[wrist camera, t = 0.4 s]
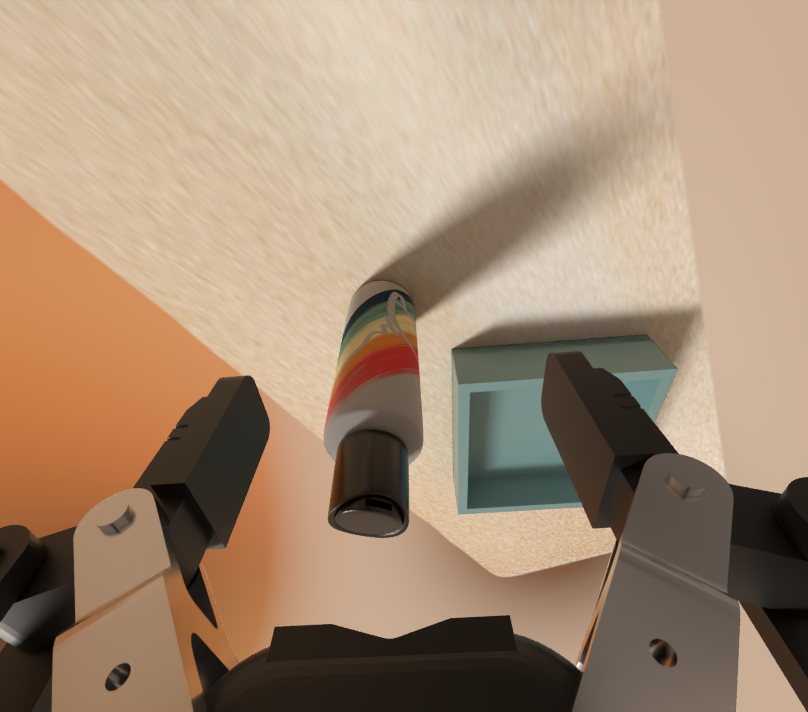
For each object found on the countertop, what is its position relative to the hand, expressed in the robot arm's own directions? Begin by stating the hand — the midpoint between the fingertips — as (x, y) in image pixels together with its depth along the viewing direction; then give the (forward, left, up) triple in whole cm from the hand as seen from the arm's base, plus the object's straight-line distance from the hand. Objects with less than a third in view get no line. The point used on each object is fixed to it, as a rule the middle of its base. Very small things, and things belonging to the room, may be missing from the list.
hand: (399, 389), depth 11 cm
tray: (+25, +13, -21) cm, 35 cm away
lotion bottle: (+10, -2, -22) cm, 24 cm away
